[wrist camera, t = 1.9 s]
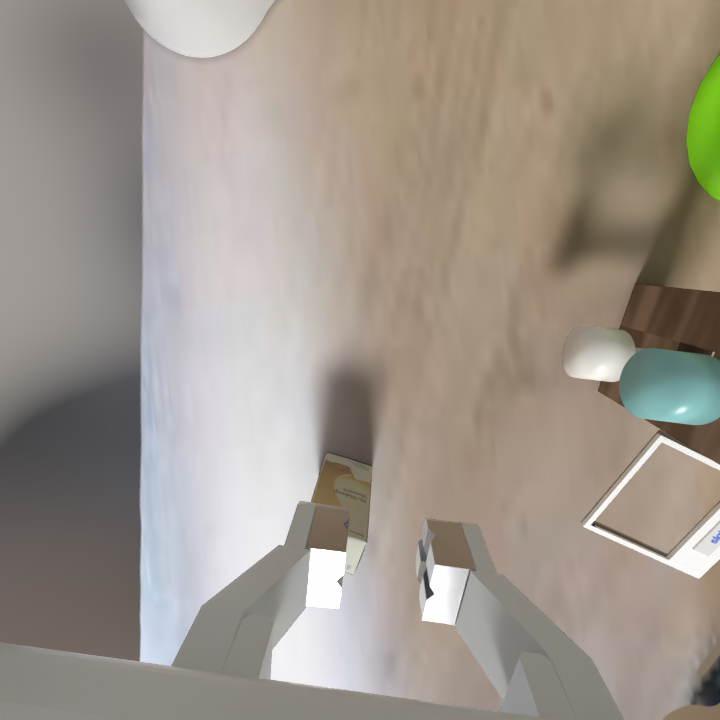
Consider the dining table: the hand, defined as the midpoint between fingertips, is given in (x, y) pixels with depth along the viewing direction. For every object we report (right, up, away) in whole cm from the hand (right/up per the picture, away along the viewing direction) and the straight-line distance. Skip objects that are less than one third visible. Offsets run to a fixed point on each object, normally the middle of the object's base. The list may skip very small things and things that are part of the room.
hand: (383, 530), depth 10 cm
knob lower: (+24, +5, +20) cm, 32 cm away
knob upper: (+23, +3, +13) cm, 27 cm away
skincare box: (-3, -9, +34) cm, 35 cm away
